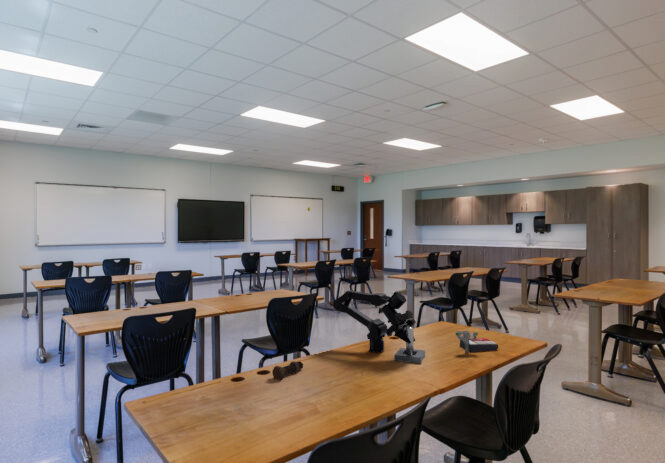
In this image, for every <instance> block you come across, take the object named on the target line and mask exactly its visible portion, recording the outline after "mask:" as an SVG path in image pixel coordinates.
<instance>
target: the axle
mask: <svg viewBox="0 0 665 463" xmlns="http://www.w3.org/2000/svg"><path fill="white" fill-rule="evenodd" d="M406 335H407V336H408V338H409V339H410V341H411V343H410V344H409V343H407V342H405V348H406V354H409V355H414V349H415V346H414V345H415V341H414V338H415V335H414V327H413V326H412V327H406Z"/></svg>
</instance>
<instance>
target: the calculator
mask: <svg viewBox="0 0 665 463" xmlns="http://www.w3.org/2000/svg"><path fill="white" fill-rule="evenodd" d="M459 347H461V348H463V349H464V350H465V343H464V340H459ZM497 349H498V350H499V344H498V343H497V342H494V341H492V340H491V339H489V338H485V337H484V338H483V337H482V338H481V337H476V340H469V344H468V352H469V353H473V352H487V351H488V352H489V350H491V351H498V350H497Z"/></svg>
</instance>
